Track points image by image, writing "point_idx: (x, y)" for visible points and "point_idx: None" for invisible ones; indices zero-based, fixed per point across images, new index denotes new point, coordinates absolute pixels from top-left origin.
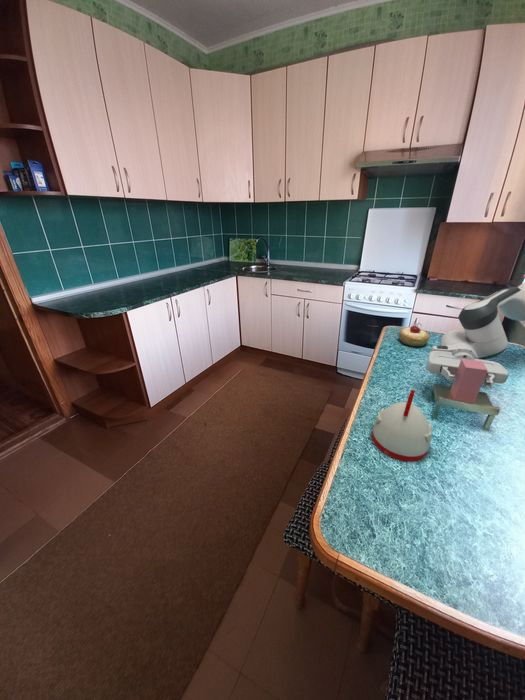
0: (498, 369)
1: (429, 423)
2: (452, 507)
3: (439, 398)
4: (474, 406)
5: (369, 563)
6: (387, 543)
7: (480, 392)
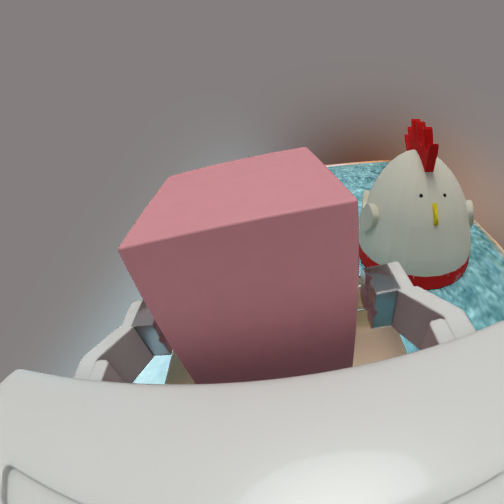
0: (15, 407)
1: (374, 207)
2: None
3: None
4: None
5: (365, 164)
6: (359, 172)
7: None
